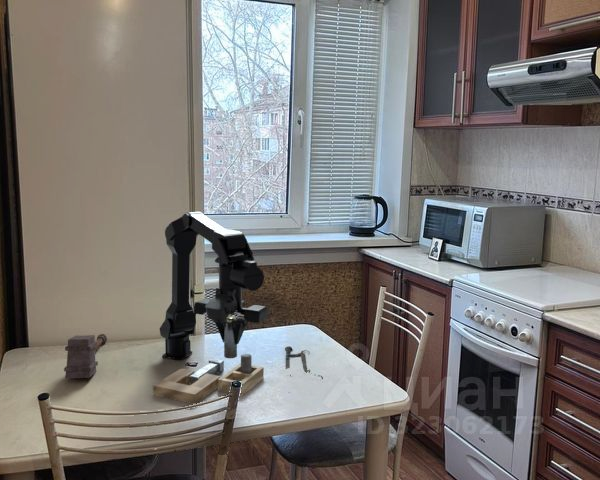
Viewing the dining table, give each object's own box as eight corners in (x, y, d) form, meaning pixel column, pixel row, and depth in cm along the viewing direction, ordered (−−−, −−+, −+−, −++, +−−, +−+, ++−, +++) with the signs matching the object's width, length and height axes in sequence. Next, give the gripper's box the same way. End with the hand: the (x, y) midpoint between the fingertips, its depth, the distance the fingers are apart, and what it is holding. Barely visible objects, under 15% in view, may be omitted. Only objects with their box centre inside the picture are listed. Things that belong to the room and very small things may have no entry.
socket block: (153, 394, 143) (153, 385, 143) (181, 377, 154) (181, 368, 154) (195, 404, 139) (195, 394, 138) (220, 385, 150) (220, 376, 149)
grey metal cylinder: (221, 357, 146) (221, 318, 144) (228, 353, 148) (228, 315, 147) (232, 359, 144) (232, 320, 143) (239, 355, 147) (239, 317, 146)
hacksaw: (284, 349, 178) (285, 345, 177) (318, 350, 178) (318, 345, 178) (284, 382, 154) (285, 376, 154) (323, 382, 154) (323, 377, 154)
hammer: (63, 378, 148) (63, 339, 148) (91, 356, 181) (92, 324, 181) (90, 378, 149) (91, 339, 149) (114, 356, 181) (114, 324, 182)
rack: (217, 390, 147) (217, 365, 146) (240, 373, 158) (240, 349, 156) (242, 395, 144) (242, 369, 143) (263, 378, 155) (263, 353, 154)
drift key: (188, 384, 150) (187, 374, 149) (212, 367, 161) (212, 358, 160) (199, 386, 148) (199, 376, 148) (223, 370, 160) (223, 360, 159)
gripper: (180, 285, 140) (181, 347, 142) (248, 294, 132) (248, 359, 135) (205, 276, 150) (205, 334, 152) (269, 284, 142) (269, 344, 145)
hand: (230, 343), depth 146 cm, fingers closed on grey metal cylinder, 3 cm apart
